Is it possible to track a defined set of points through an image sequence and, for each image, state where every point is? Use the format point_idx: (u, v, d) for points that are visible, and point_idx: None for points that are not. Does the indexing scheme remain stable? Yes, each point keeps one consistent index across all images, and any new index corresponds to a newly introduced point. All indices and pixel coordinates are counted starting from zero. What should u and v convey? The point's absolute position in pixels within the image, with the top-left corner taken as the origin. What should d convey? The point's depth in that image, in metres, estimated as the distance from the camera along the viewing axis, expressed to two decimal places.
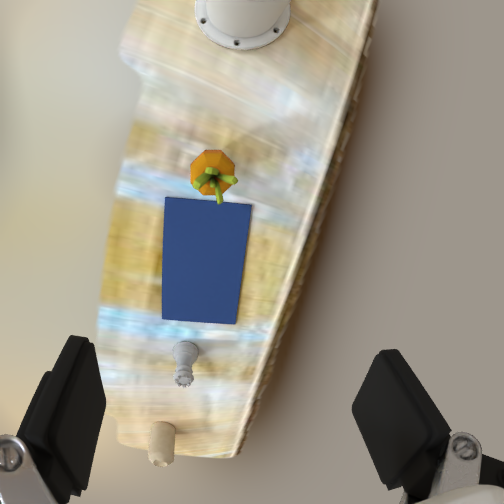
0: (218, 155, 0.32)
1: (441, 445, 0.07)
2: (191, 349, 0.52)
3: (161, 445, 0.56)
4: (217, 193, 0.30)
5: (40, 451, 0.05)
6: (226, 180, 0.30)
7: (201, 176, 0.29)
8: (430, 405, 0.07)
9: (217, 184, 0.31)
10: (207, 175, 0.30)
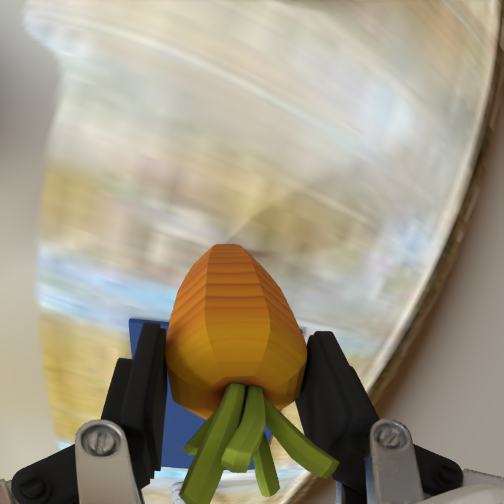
0: (259, 335, 0.09)
1: (368, 431, 0.07)
2: None
3: None
4: (262, 477, 0.08)
5: (131, 433, 0.06)
6: (298, 462, 0.07)
7: (207, 466, 0.06)
8: (354, 387, 0.08)
9: (260, 441, 0.08)
10: (227, 444, 0.07)
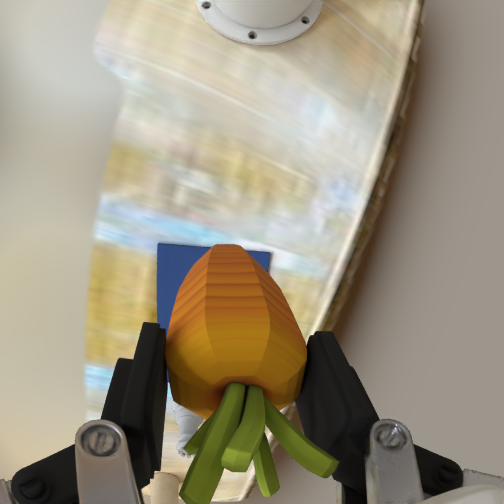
0: (259, 335, 0.09)
1: (368, 431, 0.07)
2: None
3: (164, 500, 0.45)
4: (262, 477, 0.08)
5: (131, 433, 0.06)
6: (298, 462, 0.07)
7: (206, 466, 0.06)
8: (354, 387, 0.08)
9: (261, 440, 0.08)
10: (227, 443, 0.07)
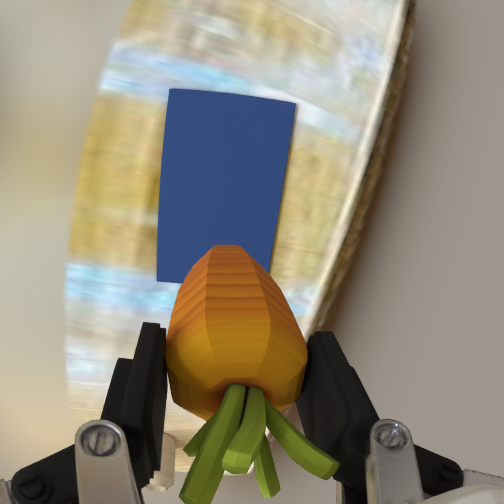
0: (260, 336, 0.09)
1: (368, 431, 0.07)
2: None
3: None
4: (263, 478, 0.08)
5: (130, 433, 0.06)
6: (299, 464, 0.07)
7: (207, 467, 0.06)
8: (354, 387, 0.08)
9: (261, 441, 0.08)
10: (228, 445, 0.07)
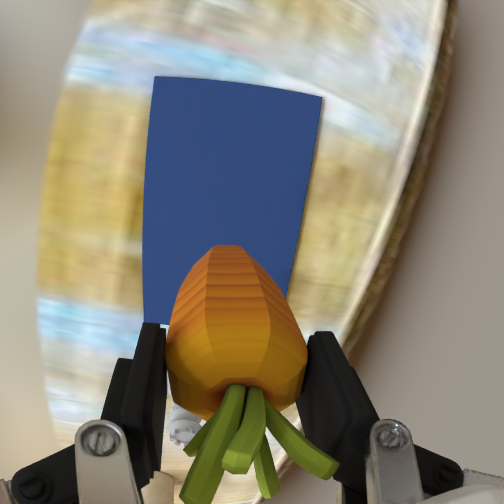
0: (260, 336, 0.09)
1: (368, 431, 0.07)
2: None
3: None
4: (263, 479, 0.08)
5: (130, 433, 0.06)
6: (299, 464, 0.07)
7: (207, 467, 0.06)
8: (355, 387, 0.08)
9: (261, 442, 0.08)
10: (228, 445, 0.07)
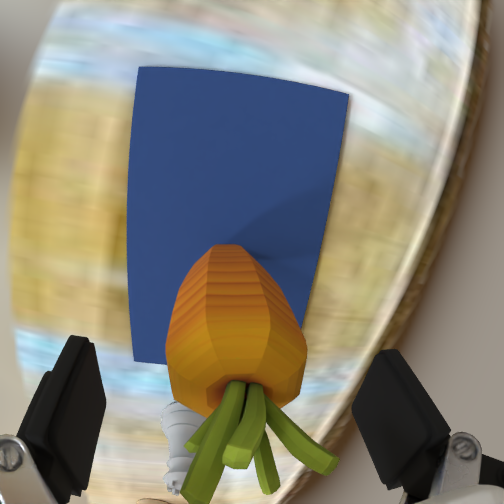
0: (260, 333, 0.09)
1: (441, 445, 0.07)
2: (198, 418, 0.24)
3: None
4: (263, 475, 0.08)
5: (40, 451, 0.05)
6: (299, 459, 0.07)
7: (207, 463, 0.07)
8: (430, 405, 0.07)
9: (261, 438, 0.08)
10: (228, 441, 0.07)
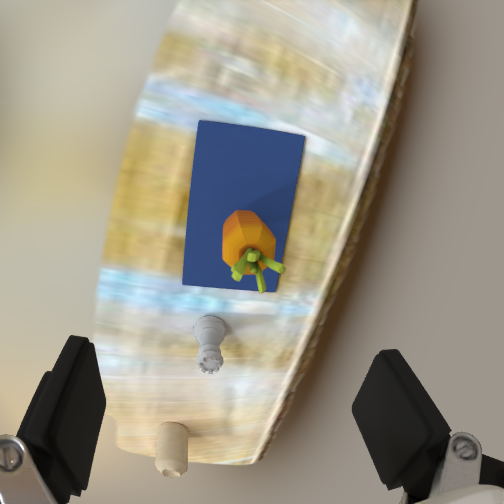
0: (258, 229, 0.27)
1: (441, 445, 0.07)
2: (218, 324, 0.42)
3: (172, 451, 0.45)
4: (259, 281, 0.26)
5: (40, 451, 0.05)
6: (271, 267, 0.25)
7: (241, 264, 0.25)
8: (430, 405, 0.07)
9: (258, 267, 0.26)
10: (248, 260, 0.25)
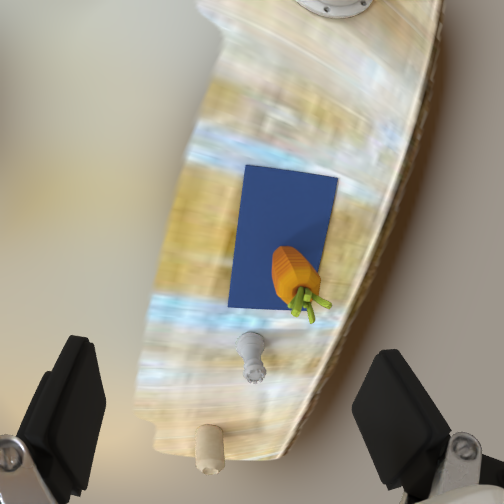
0: (308, 271, 0.33)
1: (441, 445, 0.07)
2: (259, 340, 0.47)
3: (212, 451, 0.51)
4: (310, 314, 0.31)
5: (40, 451, 0.05)
6: (321, 304, 0.31)
7: (298, 303, 0.30)
8: (430, 405, 0.07)
9: (309, 303, 0.32)
10: (302, 298, 0.31)
